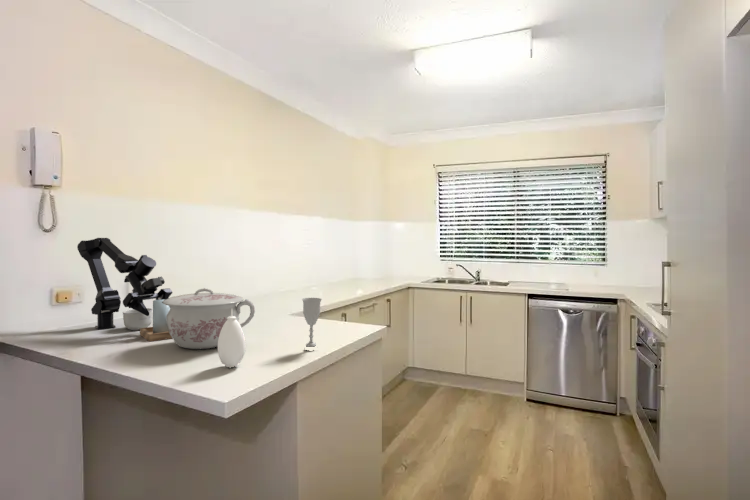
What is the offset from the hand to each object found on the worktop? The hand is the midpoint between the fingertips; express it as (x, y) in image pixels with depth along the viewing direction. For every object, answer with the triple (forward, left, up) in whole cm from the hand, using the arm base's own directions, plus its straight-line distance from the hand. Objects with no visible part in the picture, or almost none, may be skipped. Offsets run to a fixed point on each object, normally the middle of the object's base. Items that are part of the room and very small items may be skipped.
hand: (158, 313), depth 165 cm
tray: (+1, +1, -9) cm, 9 cm away
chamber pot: (+25, +9, -9) cm, 28 cm away
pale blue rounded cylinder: (+1, +1, -8) cm, 8 cm away
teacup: (-20, -2, -9) cm, 22 cm away
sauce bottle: (+56, +6, -9) cm, 57 cm away
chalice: (+54, +36, -9) cm, 66 cm away
